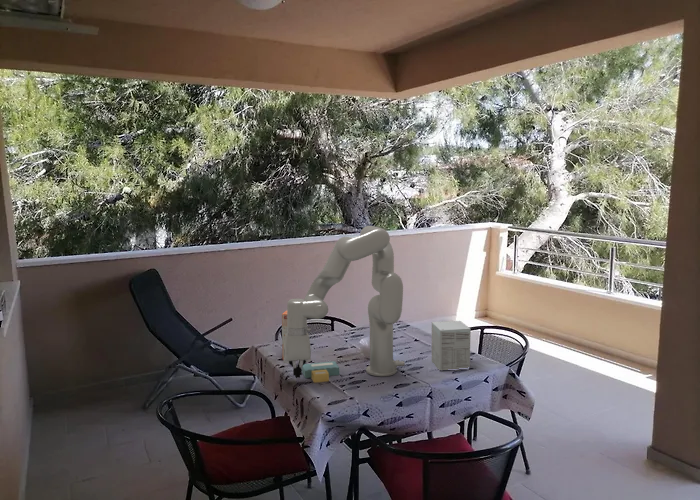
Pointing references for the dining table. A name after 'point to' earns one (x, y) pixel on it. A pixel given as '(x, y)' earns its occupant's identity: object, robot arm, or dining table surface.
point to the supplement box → (450, 345)
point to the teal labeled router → (320, 368)
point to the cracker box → (284, 330)
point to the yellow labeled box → (320, 376)
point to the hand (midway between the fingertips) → (297, 376)
